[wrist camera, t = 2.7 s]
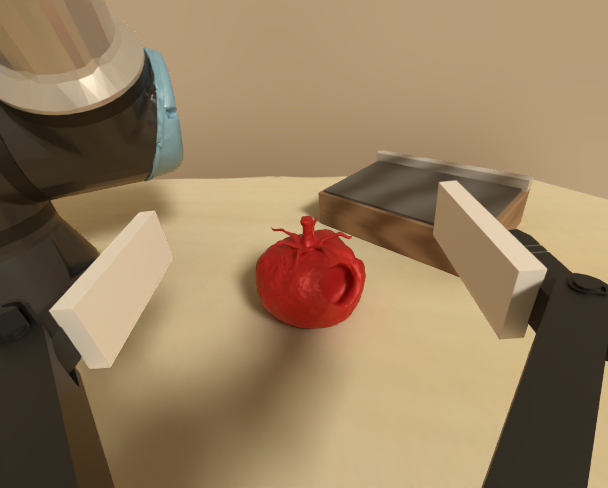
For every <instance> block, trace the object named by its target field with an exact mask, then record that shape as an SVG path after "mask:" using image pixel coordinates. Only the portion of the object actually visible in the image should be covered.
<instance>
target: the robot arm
mask: <svg viewBox="0 0 608 488" xmlns="http://www.w3.org/2000/svg"><path fill="white" fill-rule="evenodd" d="M182 161H183V144H182V137H181V129H180V124H179V119H178V115H177V113H176V106H175V98H174V93H173V89H172V84H171V81H170V77H169V73H168V70H167V67H166V64H165V61H164V58H163V56H162V55H161V53H160V52H158V51H156V50H150V49H147V48H143V46H142V44H141V41H140V40H139V38H138V36H137V34H136V33H135V32H134V30H133V29H132V28H131V27H129V26H128V25H127V24H126V23H125V22H123V21H122V20H120V19H119V18H117V17H115V16H113V15H111V14H110V13H109V11H108V8H107V6H106V3H105V1H104V0H0V488H114V484H113V481H112V478H111V474H110V471H109V468H108V465H107V461H106V458H105V455H104V451H103V448H102V445H101V442H100V438H99V435H98V432H97V428H96V425H95V422H94V419H93V415H92V412H91V409H90V405H89V402H88V399H87V396H86V392H85V389H84V386H83V382H82V379H81V376H80V373H79V372H78V371H77V369H76V368H75V366H76V365H77V363H78V362H79V361H80V359H81V358H82V359H83V361H84V362H85V364H86V365H87V366H88V368H89V369H97V368H111V366H112V364H113V362H114V361H115V359H116V357H117V355H118V354H119V352H120V350H121V348H122V347H123V345H124V343H125V342H126V340H127V338H128V336H129V335H130V333H131V331H132V329H133V328H134V326H135V324H136V323H137V321H138V319H139V317H140V316H141V314H142V312H143V310H144V309H145V307H146V305H147V303H148V302H149V300H150V298H151V297H152V295H153V293H154V291H155V290H156V288H157V286H158V284H159V283H160V281H161V279H162V278H163V276H164V274H165V272H166V271H167V269H168V267H169V265H170V264H171V262H172V260H173V259H174V258H173V256H172V253H171V251H170V248H169V245H168V243H167V240H166V238H165V235H164V232H163V230H162V227H161V225H160V222H159V219H158V217H157V214H156V212H155V211H146V212H139V213H138V214H137V215H136V216H135V217H134V219H133V220H132V221H131V222H130V223H129V224H128V225H127V226H126V227H125V228H124V229H123V231H122V232H121V233H120V234H119V235H118V236H117V237H116V238H115V239H114V240H113V241H112V243H111V244H110V245H109V246H108V247H107V248H106V249H105V250H104V251H103V252H102V253H101V255H100V254H99V252H98V251H97V249H96V248H95V247H94V246H93V245H92V244H90V243H89V242H88V241H87V240H86V239H85V238H84V237H83V236H81V235H80V234H79V233H78V232H77V231H76V230H75V229H74V228H72V227H71V226H70V225H69V224H68V223H67V222H66V221H65V220H63V219H62V218H61V217H60V216H59V214H58V213H57V211H56V210H55V208H54V206H53V204H52V203H51V201H50V200H53V199H58V198H62V197H67V196H72V195H77V194H82V193H87V192H92V191H97V190H102V189H107V188H111V187H116V186H121V185H126V184H131V183H136V182H141V181H149V180H151V179H153V178H154V177H157V176H161V175H165V174H168V173H172V172H174V171H176V170H177V169H178V168H179V167H180V165H181V163H182ZM433 236H434V237H435V239H436V240H437V242H438V244H439V245H440V247H441V248H442V250H443V251H444V253H445V255H446V256H447V258H448V259H449V261H450V262H451V264H452V265H453V267H454V269H455V270H456V272H457V273H458V275H459V276H460V278H461V280H462V281H463V283H464V284H465V286H466V287H467V289H468V291H469V292H470V294H471V295H472V297H473V298H474V300H475V302H476V303H477V305H478V306H479V308H480V309H481V311H482V313H483V314H484V316H485V317H486V319H487V320H488V322H489V324H490V325H491V327H492V328H493V330H494V331H495V333H496V335H497V336H498V338H499V339H509V338H523V337H524V335H525V333H526V330H527V327H528V324H529V325H530V326H531V327H532V329H533V330H534V331H535V333H536V336H535V338H534V341H533V344H532V346H531V349H530V352H529V354H528V358H527V361H526V364H525V366H524V369H523V372H522V375H521V378H520V381H519V383H518V386H517V389H516V392H515V395H514V398H513V400H512V403H511V406H510V409H509V412H508V414H507V417H506V420H505V423H504V426H503V429H502V431H501V434H500V437H499V440H498V443H497V446H496V448H495V451H494V454H493V457H492V460H491V463H490V465H489V468H488V471H487V474H486V477H485V479H484V482H483V485H482V488H587V486H588V479H589V472H590V465H591V458H592V451H593V444H594V437H595V430H596V423H597V416H598V409H599V402H600V395H601V388H602V381H603V374H604V367H605V361H608V284H606V283H604V282H603V281H601V280H599V279H597V278H594V277H591V276H589V275H584V274H579V273H572V272H571V271H569V270H568V269H567V268H566V267H565V266H564V265H563V264H562V263H561V262H559V261H558V260H557V259H556V258H555V257H554V256H553V255H552V254H551V253H549V252H547V250H546V249H545V248H544V247H543V246H542V245H540V244H539V243H538V242H537V241H536V240H535V239H534V238H533V237H532V236H530V235H528V234H526V233H524V232H522V231H520V230H518V229H512V230H507V229H506V228H505V227H504V226H503V225H502V224H501V223H500V222H499V221H498V220H497V219H495V218H494V217H493V216H492V215H491V214H490V213H489V212H488V211H487V210H486V209H485V208H484V207H483V206H482V205H481V204H480V203H479V202H478V201H477V200H476V199H475V198H474V197H473V196H472V195H471V194H470V193H469V192H468V191H467V190H466V189H465V188H464V187H463V186H462V185H460V184H459V183H458V182H457V181H456V180H455V181H445V182H439V185H438V194H437V203H436V212H435V221H434V230H433Z"/></svg>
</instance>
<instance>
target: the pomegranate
mask: <svg viewBox="0 0 608 488" xmlns="http://www.w3.org/2000/svg"><path fill="white" fill-rule="evenodd" d="M316 221H317V219H316V218H315V219H314V221H313V219H312V217H311V216H303V217H302V218H301V221H300V223H301V225H302V226H303V234H299V235H297V234H295V233H290V232H287V231H285V230H284V229H273V228H272V227H271V228H272V230H273V231H283V232H285V233H286V234H288V235H290V237H287V238H285V239H283V240H280V241H278V242H277V243H276V244H274V245H272V246H270V247H269V248H268V249H267V250H266V251H265V253H263V254H262V255H261V257H260V258H259V260H258V262H257V265H256V285H257V290H258V294H259V298H260V300H261V302H262V304H263V306H264V307H265V309H266V310H268V311H269V312H270V313H271V314H272V315H273V316H275V317H276V318H277V319H279V320H280V321H282V322H285V323H287V324H289V325H292V326H296V327H300V328H309V329H311V328H324V327H331V326H333V325H336V324H338V323H340V322H342V321H344V320H345V319H347V318H348V317H349V316H350V315H351V314H352V312H353V310H354V309H355V307H356V306H357V304H358V302H359V300H360V298H361V294H362V291H363V287H364V282H365V278H366V274H365V267H364V264H363V262H362V261H361V260H360V259H358V258H355V255H354V252H353V251H352V249H351V248H349V247H348V246H346V245H345V244H344V242H343V241H342V240H341V239H340V238H339V237H338V236H343V237H345V238H347V239H350V238H351V237H352V236H347V235H345V234H344V233H342V232H338V233H334V232H333V231H331V230H327V229H324V230H317V231H314V225H315V223H316Z"/></svg>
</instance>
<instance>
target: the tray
mask: <svg viewBox="0 0 608 488" xmlns="http://www.w3.org/2000/svg"><path fill="white" fill-rule="evenodd" d="M455 180H456V181H457V182H458V183H459V184H460V185H462V186H463V187H464V188H465V189H466V190H467V191H468V192H469V193H470V194H471V195H472V196H473V197H474V198H475V199H476V200H477V201H478V202H479V203H480V204H481V205H482V206H483V207H484V208H485V209H486V210H487V211H488V212H489V213H490V214H491V215H492V216H493V217H494V218H495V219H497V220H498V221H499V222H500V223H501V224H502V225H503V226H504V227H505V228H506V229H507V230H512V229H515V228H516V227H517V226H518V225H519V224H520V222H521V219H522V215H523V212H524V208H525V205H526V201H527V198H528V194H529V191H530V187H531V183H532V180H533V177H531V176H526V175H520V174H515V173H508V172H503V171H498V170H492V169H485V168H480V167H475V166H469V165H463V164H457V163H452V162H446V161H440V160H435V159H429V158H423V157H417V156H412V155H406V154H400V153H394V152H388V151H383V150H381V151H379V152H377V162H375V163H373V164H371V165H370V166H368V167H366V168H364V169H362V170H360V171H358V172H357V173H355V174H353V175H351V176H349V177H347V178H345V179H343V180H341V181H340V182H338V183H336V184H334V185H332V186H330V187H328V188H327V189H325V190H323V191H321V192H319V204H320V216H321V223H322V224H325V225H327V226H330V227H332V228H335V229H338V230H340V231H343V232H345V233H348V234H350V235H353V236H356V237H358V238H361V239H363V240H366V241H369V242H371V243H374V244H376V245H379V246H381V247H384V248H387V249H389V250H392V251H394V252H397V253H399V254H402V255H405V256H407V257H410V258H412V259H415V260H418V261H420V262H423V263H425V264H428V265H430V266H433V267H436V268H438V269H441V270H443V271H446V272H448V273H451V274H454V275H456V276H459V275H458V273H457V272H456V270H455V269H454V267H453V265H452V264H451V262H450V261H449V259H448V258H447V256H446V255H445V253H444V251H443V250H442V248H441V247H440V245H439V244H438V242H437V240H436V239H435V237H434V236H433V230H434V221H435V212H436V203H437V194H438V185H439V182H445V181H455ZM459 277H460V276H459Z"/></svg>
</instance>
